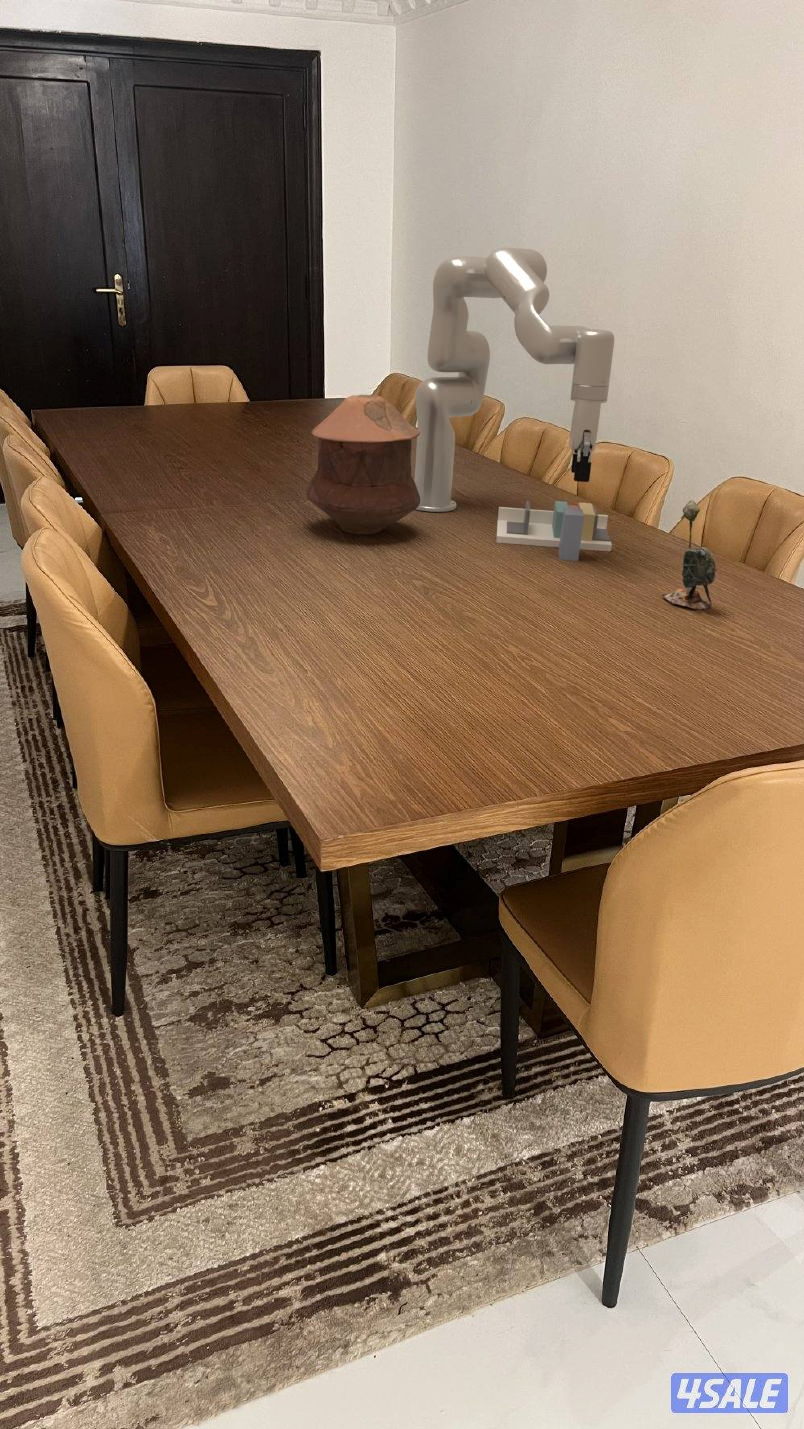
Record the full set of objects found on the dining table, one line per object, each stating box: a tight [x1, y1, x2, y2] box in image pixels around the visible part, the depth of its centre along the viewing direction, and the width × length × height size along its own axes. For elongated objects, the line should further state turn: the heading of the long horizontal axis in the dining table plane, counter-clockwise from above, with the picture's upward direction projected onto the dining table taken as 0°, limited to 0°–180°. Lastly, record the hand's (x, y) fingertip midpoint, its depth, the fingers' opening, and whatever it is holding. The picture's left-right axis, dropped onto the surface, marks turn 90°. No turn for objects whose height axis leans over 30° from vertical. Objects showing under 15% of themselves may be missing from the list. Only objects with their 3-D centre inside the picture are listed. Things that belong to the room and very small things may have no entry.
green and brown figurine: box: [662, 500, 717, 610], centre depth 193 cm, size 8×11×20 cm
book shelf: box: [496, 500, 613, 552], centre depth 236 cm, size 26×16×8 cm, turn 84°
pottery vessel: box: [305, 394, 420, 535], centre depth 228 cm, size 26×26×30 cm
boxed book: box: [558, 508, 584, 562], centre depth 222 cm, size 4×6×10 cm, turn 174°
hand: (579, 476), depth 216 cm, fingers open, 9 cm apart
